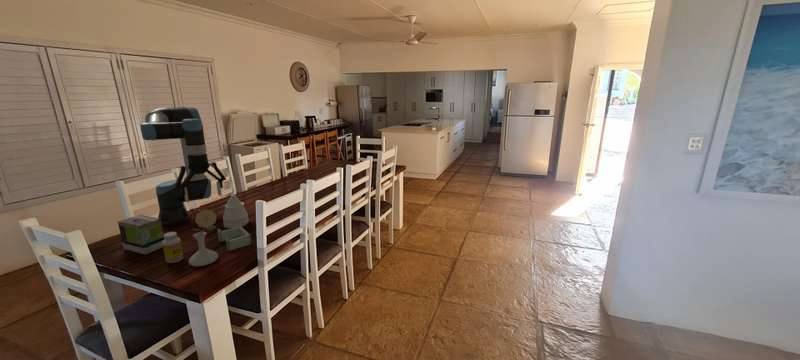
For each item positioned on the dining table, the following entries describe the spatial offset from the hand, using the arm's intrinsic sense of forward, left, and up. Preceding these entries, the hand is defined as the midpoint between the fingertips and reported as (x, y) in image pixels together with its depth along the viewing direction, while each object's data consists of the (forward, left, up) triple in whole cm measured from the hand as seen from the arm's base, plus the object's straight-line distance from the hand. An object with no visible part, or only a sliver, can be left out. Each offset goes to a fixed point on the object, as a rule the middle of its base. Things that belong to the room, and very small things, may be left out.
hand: (204, 198), depth 146 cm
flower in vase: (+13, -5, -26) cm, 30 cm away
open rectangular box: (+2, +10, -26) cm, 28 cm away
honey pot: (-22, +19, -26) cm, 39 cm away
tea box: (-21, -23, -26) cm, 41 cm away
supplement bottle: (+2, -15, -26) cm, 30 cm away
